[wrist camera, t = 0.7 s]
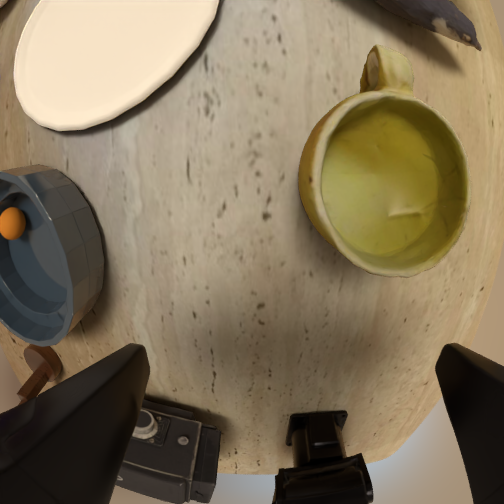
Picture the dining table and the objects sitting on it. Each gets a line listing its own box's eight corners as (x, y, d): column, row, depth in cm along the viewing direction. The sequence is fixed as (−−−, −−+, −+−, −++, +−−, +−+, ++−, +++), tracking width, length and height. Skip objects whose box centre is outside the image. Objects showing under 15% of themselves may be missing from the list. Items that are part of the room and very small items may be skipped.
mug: (413, 276, 19) (466, 308, 10) (288, 238, 22) (251, 242, 12) (441, 130, 17) (492, 73, 8) (324, 96, 20) (310, 18, 11)
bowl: (121, 324, 24) (95, 360, 18) (19, 307, 24) (-8, 330, 19) (97, 152, 19) (54, 156, 13) (-7, 177, 19) (-43, 186, 14)
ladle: (99, 432, 31) (81, 470, 24) (73, 423, 31) (54, 458, 24) (53, 343, 25) (17, 385, 18) (26, 336, 25) (-9, 372, 18)
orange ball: (33, 234, 20) (13, 244, 18) (16, 234, 20) (-4, 244, 18) (29, 202, 19) (7, 210, 17) (11, 205, 19) (-9, 212, 17)
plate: (274, 33, 15) (275, 26, 14) (57, 180, 19) (48, 182, 18) (165, -81, 10) (162, -88, 9) (8, 38, 14) (1, 37, 12)
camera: (117, 413, 30) (225, 448, 29) (80, 473, 19) (205, 522, 18) (105, 358, 27) (237, 401, 26) (50, 427, 16) (212, 497, 15)
